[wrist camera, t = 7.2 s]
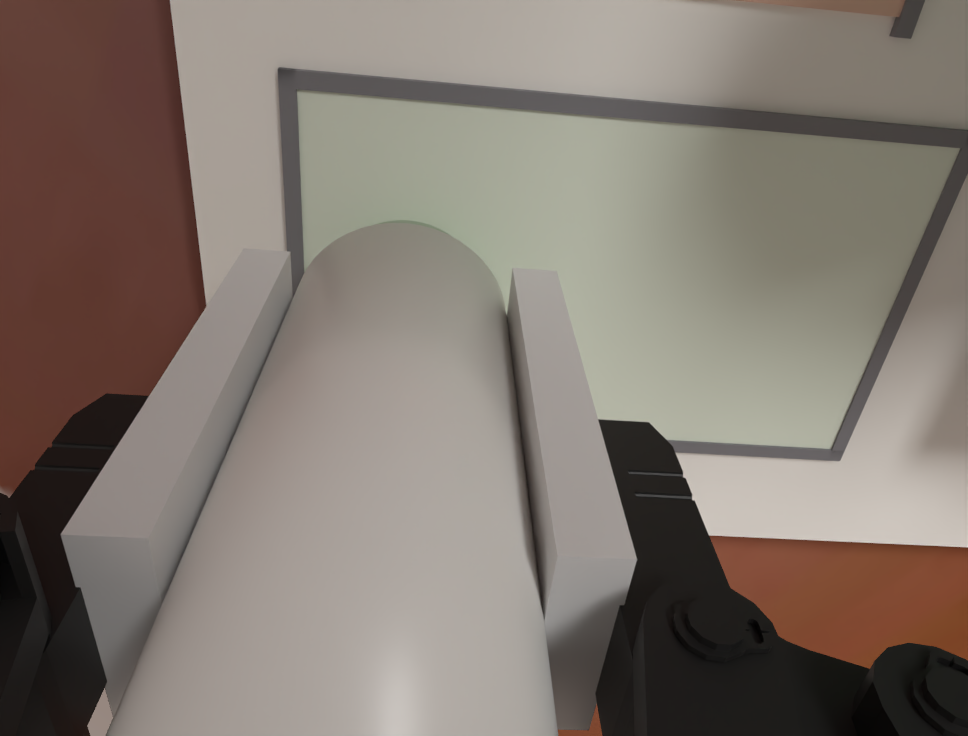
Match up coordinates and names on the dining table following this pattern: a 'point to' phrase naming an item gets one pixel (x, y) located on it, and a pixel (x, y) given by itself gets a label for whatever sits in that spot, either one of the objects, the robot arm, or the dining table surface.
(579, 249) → the board
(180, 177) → the dining table surface
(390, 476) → the marker
